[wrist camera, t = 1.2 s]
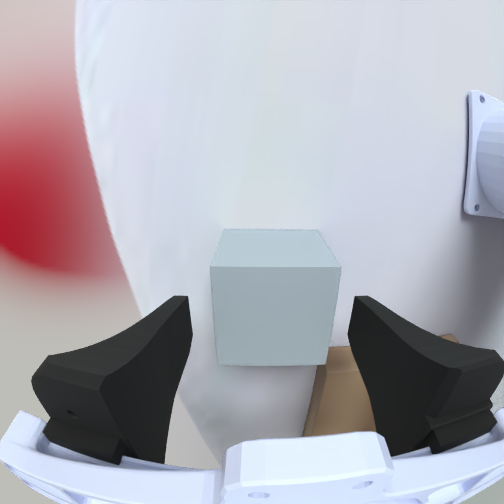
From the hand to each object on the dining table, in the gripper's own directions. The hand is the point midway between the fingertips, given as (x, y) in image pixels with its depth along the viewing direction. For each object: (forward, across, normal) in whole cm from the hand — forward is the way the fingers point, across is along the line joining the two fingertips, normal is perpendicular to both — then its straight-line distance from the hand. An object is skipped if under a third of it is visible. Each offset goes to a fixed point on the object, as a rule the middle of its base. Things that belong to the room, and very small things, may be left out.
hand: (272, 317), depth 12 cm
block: (+5, 0, 0) cm, 5 cm away
